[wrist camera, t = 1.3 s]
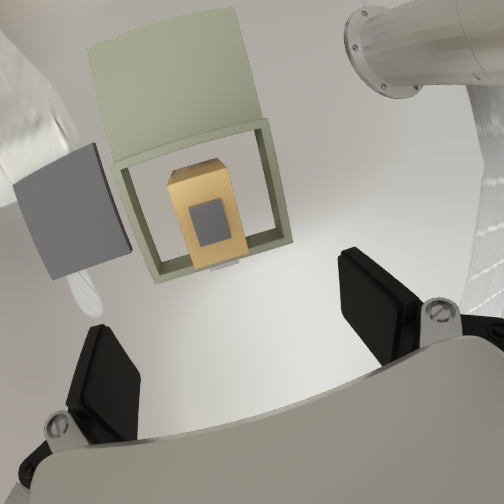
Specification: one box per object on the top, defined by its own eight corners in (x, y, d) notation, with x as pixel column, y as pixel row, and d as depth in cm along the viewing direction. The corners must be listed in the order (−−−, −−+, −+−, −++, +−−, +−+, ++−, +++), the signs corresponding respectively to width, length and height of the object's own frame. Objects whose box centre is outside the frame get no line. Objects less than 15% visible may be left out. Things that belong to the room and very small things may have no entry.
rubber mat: (95, 142, 24) (92, 143, 23) (132, 249, 29) (131, 252, 28) (16, 183, 22) (12, 185, 22) (55, 276, 28) (52, 280, 27)
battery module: (216, 157, 27) (228, 169, 19) (233, 221, 30) (251, 257, 22) (172, 170, 27) (165, 188, 19) (192, 234, 30) (195, 274, 22)
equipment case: (231, 10, 21) (236, -1, 18) (285, 237, 32) (294, 247, 29) (90, 51, 19) (81, 44, 17) (159, 275, 31) (157, 289, 28)
